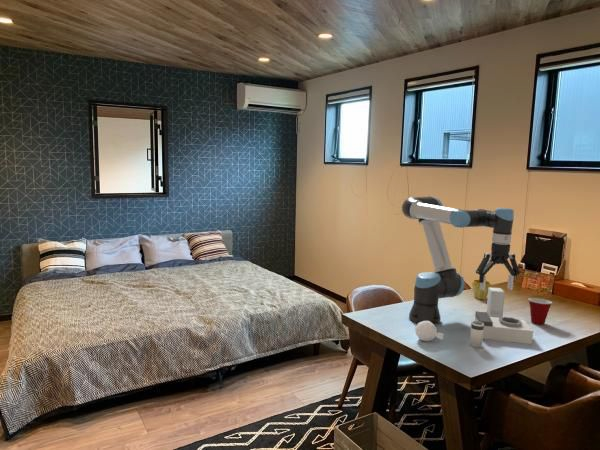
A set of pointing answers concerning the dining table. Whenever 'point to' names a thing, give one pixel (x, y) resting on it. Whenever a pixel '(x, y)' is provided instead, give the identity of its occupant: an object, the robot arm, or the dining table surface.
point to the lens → (476, 334)
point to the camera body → (505, 328)
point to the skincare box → (495, 302)
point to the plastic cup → (539, 310)
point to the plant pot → (477, 291)
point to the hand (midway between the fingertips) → (495, 289)
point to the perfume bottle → (427, 331)
